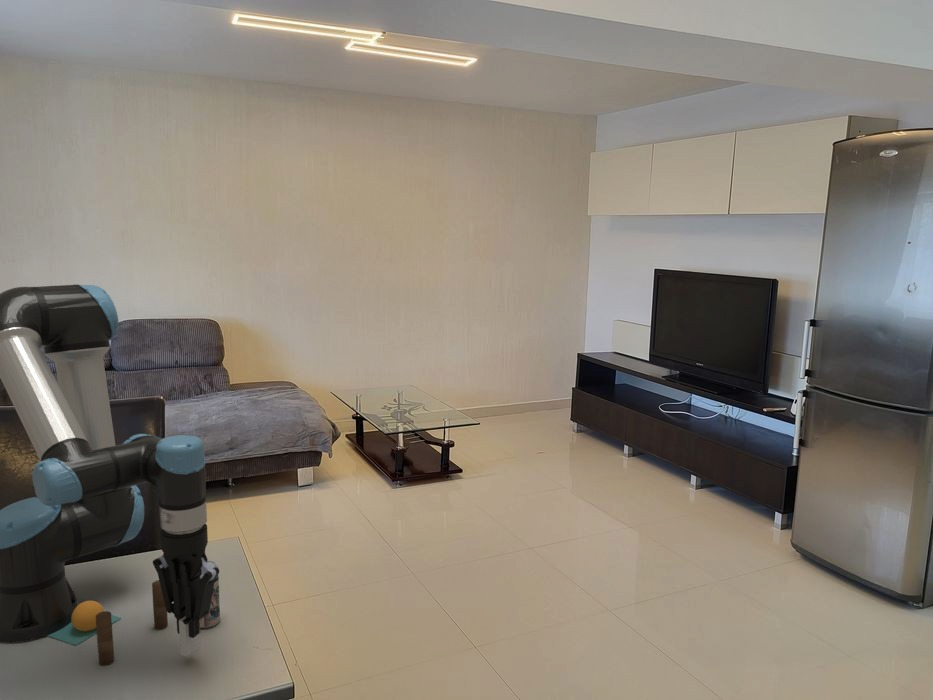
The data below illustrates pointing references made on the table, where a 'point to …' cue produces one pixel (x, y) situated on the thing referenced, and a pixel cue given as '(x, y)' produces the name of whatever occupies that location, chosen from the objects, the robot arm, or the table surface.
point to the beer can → (212, 605)
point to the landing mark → (76, 633)
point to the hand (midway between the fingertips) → (189, 651)
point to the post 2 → (159, 607)
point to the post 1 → (104, 638)
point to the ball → (86, 615)
